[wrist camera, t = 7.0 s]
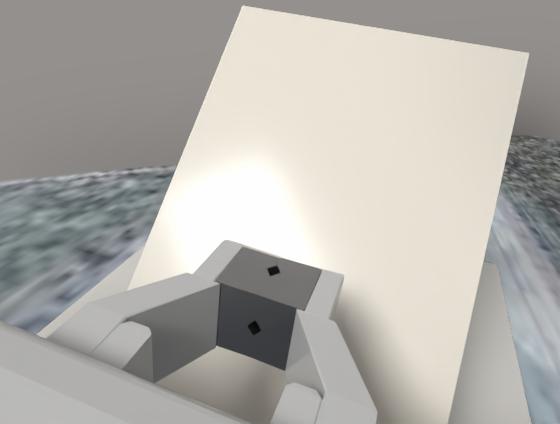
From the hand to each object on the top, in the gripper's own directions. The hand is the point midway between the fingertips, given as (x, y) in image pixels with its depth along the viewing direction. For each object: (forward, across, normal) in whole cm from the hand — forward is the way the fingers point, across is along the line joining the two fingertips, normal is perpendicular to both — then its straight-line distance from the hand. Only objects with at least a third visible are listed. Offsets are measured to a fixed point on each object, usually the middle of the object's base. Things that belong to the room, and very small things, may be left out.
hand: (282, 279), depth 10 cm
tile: (-1, 0, +6) cm, 6 cm away
